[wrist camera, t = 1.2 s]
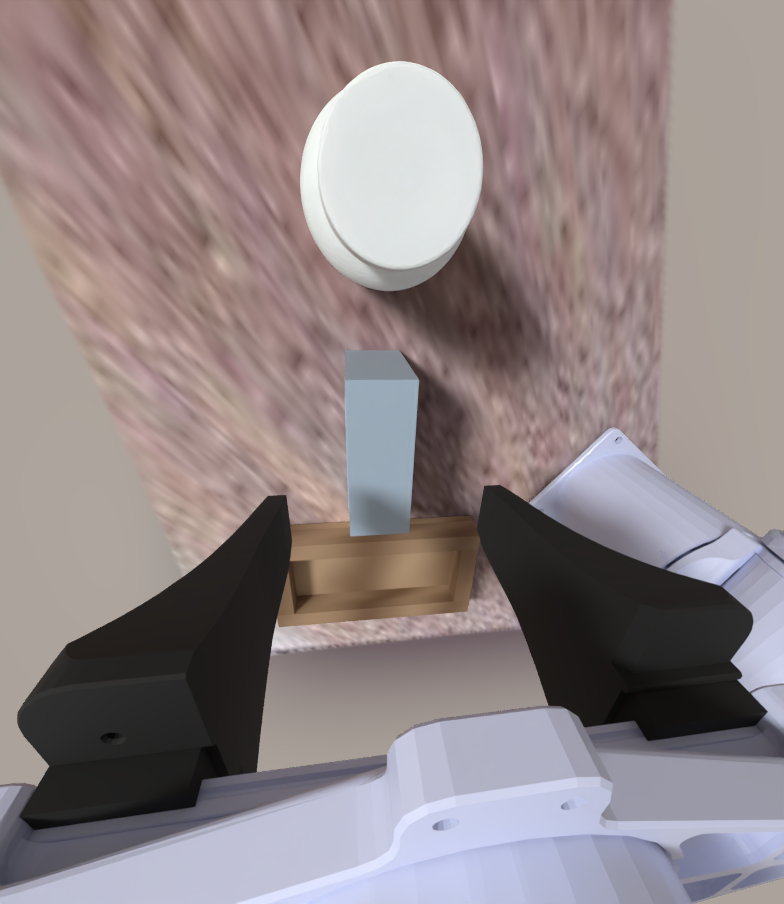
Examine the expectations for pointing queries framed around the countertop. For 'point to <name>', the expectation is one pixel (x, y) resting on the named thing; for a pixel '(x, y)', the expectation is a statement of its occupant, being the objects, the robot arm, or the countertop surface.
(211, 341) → the countertop surface
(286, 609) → the wooden tray
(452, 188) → the supplement bottle
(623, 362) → the countertop surface
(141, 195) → the countertop surface
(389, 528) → the grey rectangular block
